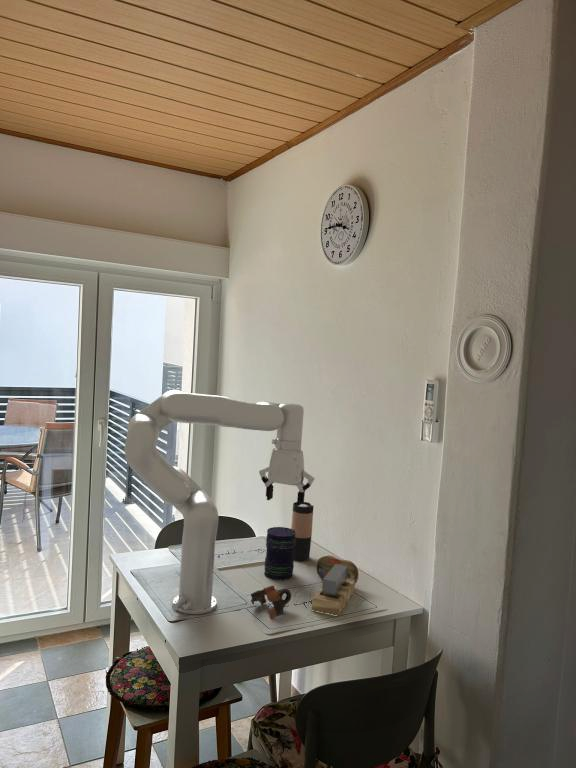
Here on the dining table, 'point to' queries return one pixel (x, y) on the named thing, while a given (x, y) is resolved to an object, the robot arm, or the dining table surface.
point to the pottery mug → (272, 599)
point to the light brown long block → (334, 599)
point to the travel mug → (302, 530)
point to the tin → (328, 563)
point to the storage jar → (279, 553)
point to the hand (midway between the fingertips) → (284, 501)
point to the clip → (334, 580)
